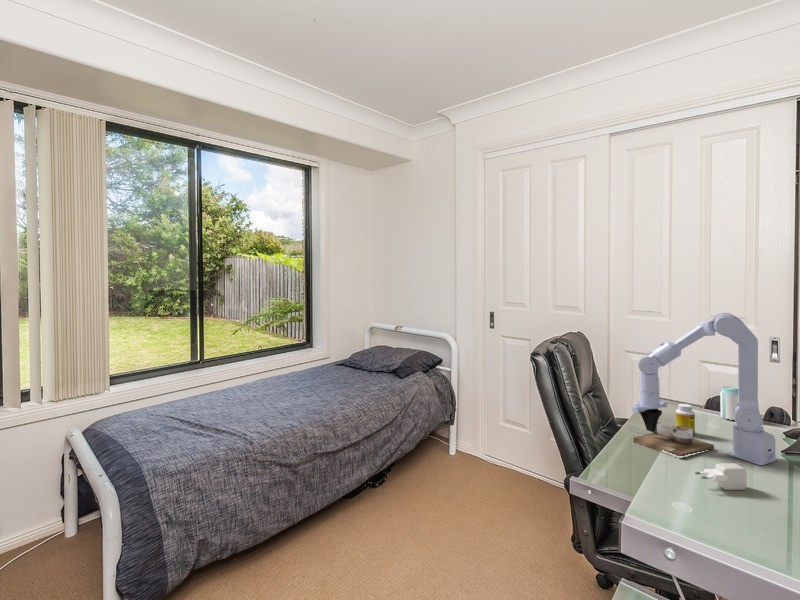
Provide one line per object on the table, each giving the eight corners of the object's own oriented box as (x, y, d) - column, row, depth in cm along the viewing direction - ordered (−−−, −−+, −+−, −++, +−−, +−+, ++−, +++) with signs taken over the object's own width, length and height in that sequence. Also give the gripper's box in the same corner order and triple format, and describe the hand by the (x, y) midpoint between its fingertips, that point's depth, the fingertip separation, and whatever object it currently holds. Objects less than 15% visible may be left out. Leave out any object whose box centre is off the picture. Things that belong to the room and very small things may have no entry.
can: (732, 415, 165) (732, 385, 165) (748, 421, 158) (748, 389, 158) (716, 416, 165) (715, 386, 165) (731, 422, 158) (731, 390, 158)
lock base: (713, 449, 134) (713, 444, 134) (680, 459, 128) (680, 454, 128) (665, 433, 149) (665, 429, 149) (633, 441, 143) (633, 437, 143)
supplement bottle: (693, 437, 145) (692, 408, 144) (674, 434, 149) (673, 405, 148) (696, 433, 148) (696, 404, 148) (678, 429, 152) (677, 402, 152)
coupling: (696, 442, 136) (696, 427, 136) (684, 445, 134) (684, 430, 134) (658, 430, 148) (658, 416, 148) (647, 432, 146) (646, 418, 146)
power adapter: (704, 492, 108) (704, 470, 108) (692, 483, 113) (692, 462, 113) (749, 491, 108) (749, 469, 107) (735, 482, 112) (735, 461, 112)
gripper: (653, 385, 149) (654, 423, 149) (623, 391, 143) (624, 430, 144) (672, 390, 142) (673, 429, 143) (642, 396, 137) (643, 437, 137)
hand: (650, 430), depth 143 cm, fingers closed
